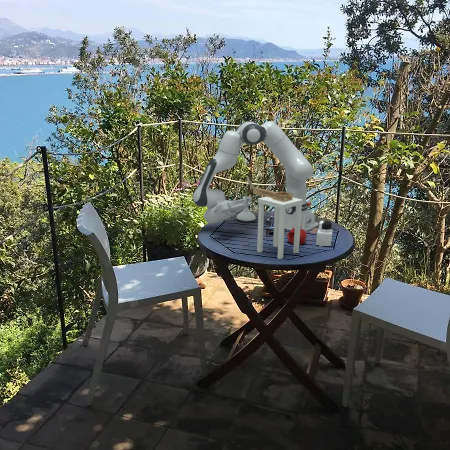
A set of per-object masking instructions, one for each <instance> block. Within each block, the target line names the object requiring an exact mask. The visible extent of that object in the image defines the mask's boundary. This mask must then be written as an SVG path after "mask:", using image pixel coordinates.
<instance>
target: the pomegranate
mask: <svg viewBox="0 0 450 450" xmlns="http://www.w3.org/2000/svg"><path fill="white" fill-rule="evenodd" d="M291 228H293V229H291V230H289V231H288V232H287V234H286V239H287V241H288V243H290V244H292V245H294V233H295V228H294V227H291ZM300 228H302V227H300ZM307 237H308V235H307V231H304V229H300V240H299V245H303V244H305V242H306V241H307Z"/></svg>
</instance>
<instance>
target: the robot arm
mask: <svg viewBox="0 0 450 450" xmlns="http://www.w3.org/2000/svg"><path fill="white" fill-rule="evenodd" d="M261 142H263V143H265V145H266V146H267V148H268V149H269V150H270V151H271V153H272V154H273V155H274V156H275V157H276V159H277V160H279V162H280V163H281V165H283V167H284V173H285V174H284V176H285V184H286V191H285V192H287V193H291V194H293V198H298V199H302V200H303V204H302V209H301V225H300V227H302V228H300V229H304V231H305V232H308V231H311V230H312V229H314V228H316V227H317V226H318V227H319V222H318V221H315V220H316V219H315V217H316V216H315V214H314V213H313V212H312V211H310V210H309V208H308V207H310V206H312V205H311V204H312V203H311V202H307V194H308V188H307V185H306V184H307V183H306V180H307V181H308V180H309V179H310V178H311V177H312V176H313V173H314V167H313V166H312V164H311V162H310V161H309V160H308V159H307V158H306V156H304V154H303V153H302V152H301V151H300V150H299V149H298V148H297V147H296V146H295V145H294V144H293V142H292V141H291V140H290V138H289V137H288V136H287V135H286V133H285V131H283V130H282V128H281V127H280V126H279V125H278V124H276V122H274V121H272V120H269V121H265V122H264V123H263V124H261V125H259V124H257V123H256V122H254V121H251V120H250V121H249V120H247V121H244V122H241V124H240V125H238V126H237V128H236V129H235V130H227V131H225V133H224V134H223V136H222V138H221V140H220V143H219V146H218V149H217V151H216V154H215V155H214V157H212V159H210V160H209V161H208V163H207V164H206V166H205V169H204V170H203V173H202V176H201V178H200V181H199V183H198V185H197V187H196V188H195V190H194V191H193V194H192V201H193V203H194V204H195V206H197V207H199V208H207V209H206V210H205V212H204V214H203V218H204V220H205V222H206V223H208V224H211V225H214V224H219V223H220V222H222V221H224V220H226V219H229V218H230V217H233V216H235V215H236V214H239V213H241V212H242V211H243V210H244V208H246V207H248V208H249V206H250V205H251V204H252V202H251V201H252V198H245V199H243V198H241V199H236V200H227V197H226V194H225V192H224V191H223V190H221V189H211V188H210V186H211V183H212V181H213V178H214V177H215V175H216V174H217V173H220V172H222V171H225V170H229V169H231V168H233V167H234V166H235V165H236V163H237V162H238V158H239V154H240V150H241V148H242V147H243V146H244V145H245V144H247V145H251V146H253V145H254V146H255V145H257V144H259V143H261ZM295 216H296V206H293V207H290V208H286V211H285V230H289V231H291V229H293V228H291V227H294V228H295Z"/></svg>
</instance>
